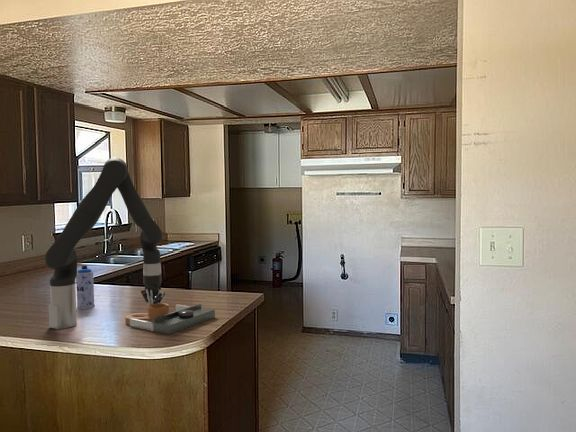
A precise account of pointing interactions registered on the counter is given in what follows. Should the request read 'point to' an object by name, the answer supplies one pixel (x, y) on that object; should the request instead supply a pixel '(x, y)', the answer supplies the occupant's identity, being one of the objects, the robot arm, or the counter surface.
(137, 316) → the bracket
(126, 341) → the counter surface
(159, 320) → the deck mount
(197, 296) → the counter surface
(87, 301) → the aerosol can
